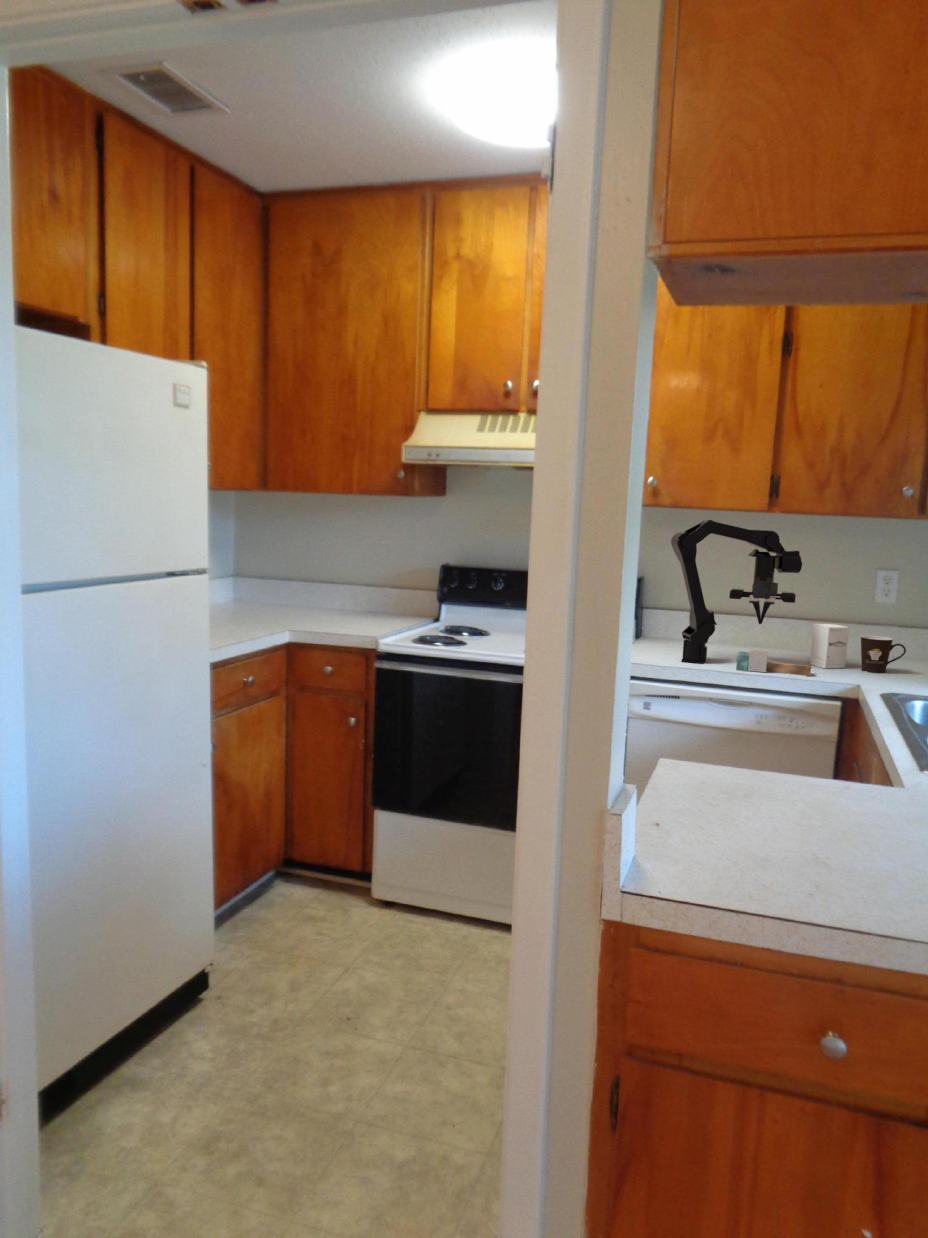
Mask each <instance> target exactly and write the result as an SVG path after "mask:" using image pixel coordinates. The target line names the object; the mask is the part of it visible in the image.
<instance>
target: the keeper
mask: <svg viewBox="0 0 928 1238" xmlns="http://www.w3.org/2000/svg"><path fill="white" fill-rule="evenodd" d="M748 652H749V660H748V670H747V672H748V671H750V672H760V673H767V672H766V668H767V662H769V661H768V660H769V659H768V658H769V650H768V651H766V650H754V649H750V650H749V651H748Z"/></svg>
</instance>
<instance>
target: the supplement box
mask: <svg viewBox="0 0 928 1238" xmlns="http://www.w3.org/2000/svg"><path fill="white" fill-rule="evenodd" d="M812 626H813V627H812V635H811V647H810V658H809V665H812V666H814V667H819V668H822V669H845V668H846V660H847V650H848V642H849V641H848V639H849V628H850V627H849V626H845V625H842V624H841V625H840V624H833V623H813V625H812Z"/></svg>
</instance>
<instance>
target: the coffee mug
mask: <svg viewBox="0 0 928 1238" xmlns="http://www.w3.org/2000/svg"><path fill="white" fill-rule="evenodd" d="M893 641H894V640H893V638H891V637H886V636H880V635H860V656H861V671H863V672H865V671H867V672H866V673H870V674H871V673H872V674H885V673H886V671H887V667H888V665H889V664H890V663H893V662H895V661H897V660H900V659H901V658H902V657H903V656H905V655H906V653H907V649H906V647H905V645H904V644H901V643H894V644H893ZM897 646H899V647H901V648H902V649H903V653H901V655H899V656H897V657H895V658H893V659H891V660H889V658H890V653H891V651H892V650H893V649H894V648H895V647H897Z"/></svg>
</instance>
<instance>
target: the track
mask: <svg viewBox="0 0 928 1238" xmlns="http://www.w3.org/2000/svg"><path fill="white" fill-rule="evenodd" d="M749 652H750V651H741V650H740V651H738V652H737V654H736V656H737V657H736V668H735V670H736V671H740V670H741V671H742V672H748V660H749ZM811 670H812V666H811V664H806V665H805V664H794V663H793V664H792V663H786V662H785V663H783V662H772V661H771V662H770V661H767V668H766V671H769V672H768V673H776V674H777V673H779V674H787V673H789V674H788V675H798V676H799V675H800V676H806V677H811V672H812V671H811ZM741 671H740V672H741Z"/></svg>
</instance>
